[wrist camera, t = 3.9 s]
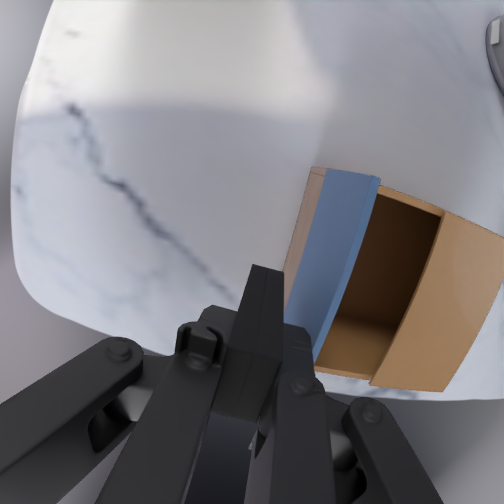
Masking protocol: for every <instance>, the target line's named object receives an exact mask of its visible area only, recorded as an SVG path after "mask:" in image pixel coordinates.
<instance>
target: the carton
mask: <svg viewBox="0 0 504 504" xmlns="http://www.w3.org/2000/svg"><path fill="white" fill-rule="evenodd" d="M327 169H329V168H319V167H311V171H310V175H309V178H308V182H307V186H306V190H305V193H304V197H303V201H302V204H301V208H300V212H299V215H298V219H297V222H296V226H295V229H294V233H293V237H292V240H291V244H290V247H289V250H288V254H287V257H286V261H285V264H284V268H283V271H282V272H284V311H285V308H286V305H287V302H288V299H289V296H290V293H291V289H292V286H293V283H294V280H295V277H296V274H297V270H298V267H299V264H300V261H301V258H302V254H303V251H304V248H305V244H306V241H307V238H308V234H309V231H310V227H311V224H312V220H313V217H314V214H315V210H316V206H317V203H318V199H319V196H320V192H321V188H322V185H323V181H324V177H325V174H326V170H327ZM503 278H504V237H502V236H500V235H498V234H496V233H494V232H492V231H490V230H487V229H485V228H483V227H481V226H479V225H477V224H475V223H473V222H471V221H468V220H466V219H464V218H462V217H459V216H457V215H455V214H453V213H450V212H448V211H446V210H443V209H441V208H439V207H436V206H434V205H431V204H429V203H426V202H424V201H421V200H419V199H416V198H414V197H411V196H409V195H406V194H403V193H401V192H398V191H395V190H393V189H390V188H387V187H384V186H381V185H379V188H378V191H377V195H376V198H375V202H374V205H373V208H372V212H371V215H370V218H369V222H368V225H367V228H366V231H365V234H364V237H363V240H362V243H361V246H360V249H359V252H358V255H357V258H356V261H355V264H354V267H353V269H352V272H351V275H350V278H349V281H348V283H347V286H346V289H345V291H344V294H343V296H342V299H341V302H340V304H339V307H338V309H337V312H336V314H335V317H334V319H333V322H332V324H331V327H330V329H329V331H328V334H327V336H326V338H325V341H324V343H323V345H322V348H321V350H320V352H319V354H318V357H317V359H316V361H315V363H314V371H317V372H322V373H328V374H333V375H339V376H345V377H352V378H358V379H365V380H370V382H369V385H370V386H377V387H386V388H395V389H405V390H416V391H429V392H443V391H444V390H445V388H446V387H447V385H448V384H449V382H450V381H451V379H452V378H453V376H454V374H455V373H456V371H457V370H458V368H459V366H460V365H461V363H462V361H463V360H464V358H465V356H466V355H467V353H468V351H469V349H470V348H471V346H472V344H473V342H474V340H475V339H476V337H477V335H478V333H479V331H480V329H481V327H482V325H483V323H484V321H485V319H486V317H487V315H488V313H489V311H490V309H491V307H492V304H493V302H494V300H495V298H496V295H497V293H498V291H499V288H500V286H501V283H502V281H503Z"/></svg>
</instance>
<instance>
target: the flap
mask: <svg viewBox="0 0 504 504" xmlns="http://www.w3.org/2000/svg"><path fill="white" fill-rule="evenodd" d="M380 180H381V179H380V178H378V177H375V176H372V175H366V174H360V173H354V172H348V171H341V170H335V169H327V170H326V174H325V177H324V181H323V185H322V188H321V192H320V196H319V199H318V203H317V206H316V210H315V214H314V217H313V220H312V224H311V227H310V231H309V234H308V238H307V241H306V244H305V248H304V251H303V254H302V258H301V261H300V264H299V267H298V270H297V274H296V277H295V280H294V283H293V286H292V289H291V293H290V296H289V299H288V302H287V305H286V308H285V311H284V323H287V324H291V325H295V326H299V327H304V328H305V329H306V331H307V332H308V333H309V335H310V336H311V344H312V345H311V346H312V354H313V361H314V363H315V361H316V359H317V357H318V354H319V352H320V350H321V348H322V345H323V343H324V341H325V338H326V336H327V334H328V331H329V329H330V327H331V324H332V322H333V319H334V317H335V314H336V312H337V309H338V307H339V304H340V302H341V299H342V296H343V294H344V291H345V289H346V286H347V283H348V281H349V278H350V275H351V272H352V269H353V267H354V264H355V261H356V258H357V255H358V252H359V249H360V246H361V243H362V240H363V237H364V234H365V231H366V228H367V225H368V222H369V218H370V215H371V212H372V208H373V205H374V202H375V198H376V195H377V191H378V188H379V184H380Z"/></svg>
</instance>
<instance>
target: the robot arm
mask: <svg viewBox="0 0 504 504" xmlns="http://www.w3.org/2000/svg"><path fill="white" fill-rule="evenodd" d="M486 48H487V54H488V58H489V62H490V65H491V69H492V71H493V74H494V77H495V79H496V82H497V84H498V86H499V88H500V90H501V92H502V94H503V96H504V15H502V16H500V17H498V18H496V19H494V20H493V21H492V22H490V24H489V26H488V28H487V31H486ZM311 345H312V344H311V336H310V335H309V333H308V332H307V331H306V329H305V328H304V327H299V326H295V325H291V324H287V323H284V272H281V271H277V270H273V269H269V268H266V267H262V266H258V265H255V264H252V268H251V271H250V274H249V277H248V280H247V284H246V287H245V290H244V293H243V296H242V300H241V303H240V306H239V309H238V312H237V311H233V310H230V309H226V308H223V307H219V306H215V305H211V306H209V307H207V308H206V309H204V310H203V312H202V314H201V316H200V318H199V319H198V321H197V322H188V323H185V324H182V325H181V326H180V327H179V328H178V331H177V339H176V346H175V353H174V355H171V356H165V357H158V356H148V355H144V352H143V350H142V348H141V346H140V345H138V344H137V343H136V342H135V341H133V340H130V339H128V338H123V337H109V338H107V339H104V340H102V341H100V342H98V343H97V344H95V345H94V346H92V347H90V348H89V349H87V350H86V351H84V352H83V353H81V354H79V355H78V356H76V357H74V358H73V359H71V360H70V361H68V362H67V363H65V364H63V365H62V366H60V367H58V368H57V369H55V370H54V371H52V372H51V373H49V374H47V375H46V376H44V377H43V378H41V379H40V380H38V381H36V382H35V383H33V384H32V385H30V386H29V387H27V388H25V389H24V390H22V391H20V392H19V393H17V394H16V395H14V396H13V397H11V398H9V399H8V400H6V401H5V402H3V403H1V404H0V504H56V503H57V502H58V501H60V500H61V499H62V498H63V497H64V496H65V495H66V494H67V493H68V492H69V491H71V490H72V489H73V488H74V487H75V486H76V485H77V484H78V483H79V482H80V481H81V480H82V479H83V478H84V477H85V476H86V475H88V473H90V472H91V471H92V470H93V469H94V468H95V467H96V466H97V465H98V464H99V463H100V462H101V461H102V460H103V459H104V458H105V457H106V456H107V455H108V454H109V453H110V452H111V451H112V450H113V449H114V448H115V447H116V446H117V445H119V444H120V442H122V440H124V439H125V438H126V436H128V435H129V434H130V432H132V433H131V434H130V436H129V438H128V440H127V442H126V444H125V446H124V448H123V450H122V451H121V453H120V455H119V457H118V460H117V461H116V463H115V465H114V467H113V469H112V471H111V473H110V474H109V476H108V478H107V480H106V482H105V484H104V486H103V488H102V490H101V492H100V494H99V496H98V498H97V500H96V502H95V504H184V501H185V498H186V495H187V491H188V488H189V485H190V481H191V478H192V474H193V471H194V468H195V465H196V461H197V458H198V455H199V451H200V448H201V445H202V441H203V438H204V435H205V431H206V428H207V424H208V421H209V417H210V413H211V412H213V413H216V414H220V415H224V416H227V417H231V418H235V419H240V420H244V421H248V422H253V423H257V421H258V419H259V416H260V421H259V427H258V429H257V431H256V433H255V435H254V437H253V440H252V442H251V444H250V446H249V449H252V448H253V449H252V455H251V462H250V469H249V476H248V483H247V489H246V495H245V501H244V504H444V503H443V501H442V500H441V498H440V496H439V494H438V492H437V491H436V489H435V487H434V485H433V484H432V482H431V480H430V478H429V477H428V475H427V473H426V471H425V470H424V468H423V466H422V464H421V463H420V461H419V459H418V458H417V456H416V455H415V453H414V451H413V449H412V447H411V446H410V444H409V443H408V441H407V439H406V438H405V436H404V434H403V432H402V431H401V429H400V427H399V426H398V424H397V422H396V421H395V419H394V418H393V416H392V414H391V413H390V411H389V410H388V409H387V407H386V406H385V405H384V404H382V403H381V402H379V401H377V400H375V399H372V398H368V397H360V398H356V399H355V400H354V401H353V402H351V404H350V405H347V404H344V403H341V402H339V401H337V400H334V399H332V398H331V397H329V396H327V395H326V394H325V389H324V387H323V384H322V383H321V382H320V381H319V380H318V379H317V378H316V377H315V371H314V361H313V354H312V346H311Z"/></svg>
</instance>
